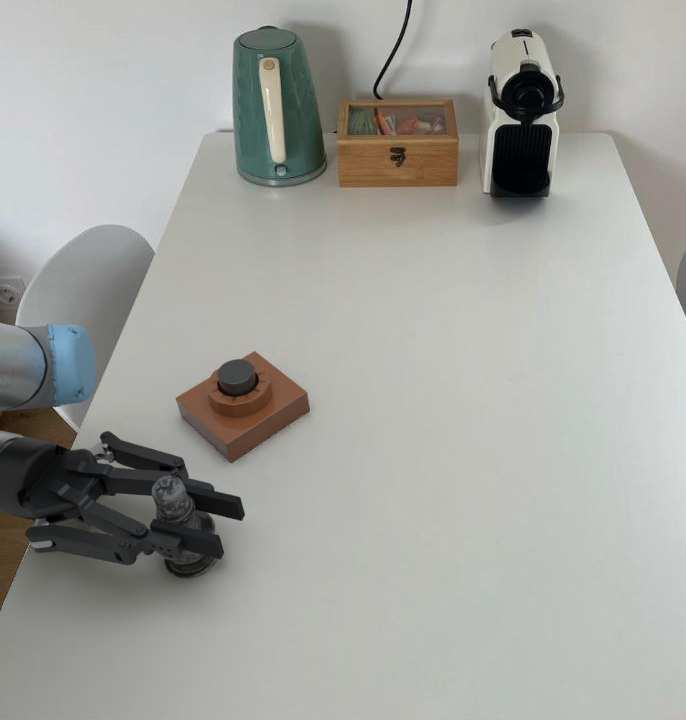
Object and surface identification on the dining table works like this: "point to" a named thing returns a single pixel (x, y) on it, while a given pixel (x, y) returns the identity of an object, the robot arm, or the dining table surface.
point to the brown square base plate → (243, 409)
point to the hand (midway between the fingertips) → (230, 527)
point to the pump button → (237, 378)
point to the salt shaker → (180, 511)
